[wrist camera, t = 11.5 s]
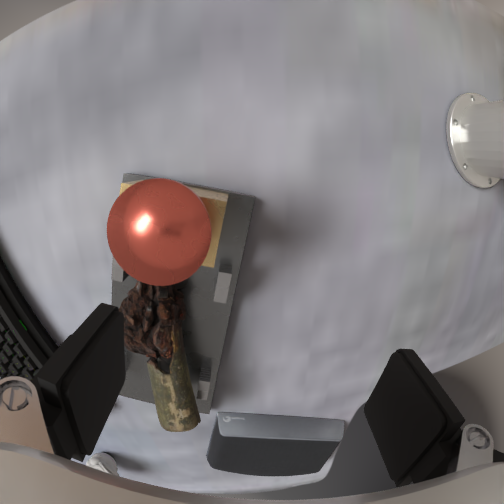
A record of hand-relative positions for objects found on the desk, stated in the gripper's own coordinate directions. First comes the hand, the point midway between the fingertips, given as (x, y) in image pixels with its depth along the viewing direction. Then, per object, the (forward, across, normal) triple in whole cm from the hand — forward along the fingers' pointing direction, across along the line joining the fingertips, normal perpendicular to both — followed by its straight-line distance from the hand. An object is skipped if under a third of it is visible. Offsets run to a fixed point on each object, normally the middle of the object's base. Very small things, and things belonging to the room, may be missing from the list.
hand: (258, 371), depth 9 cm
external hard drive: (+22, -10, +31) cm, 39 cm away
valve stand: (+21, +7, +10) cm, 24 cm away
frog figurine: (+20, +18, +44) cm, 52 cm away
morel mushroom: (+19, +6, +14) cm, 24 cm away
